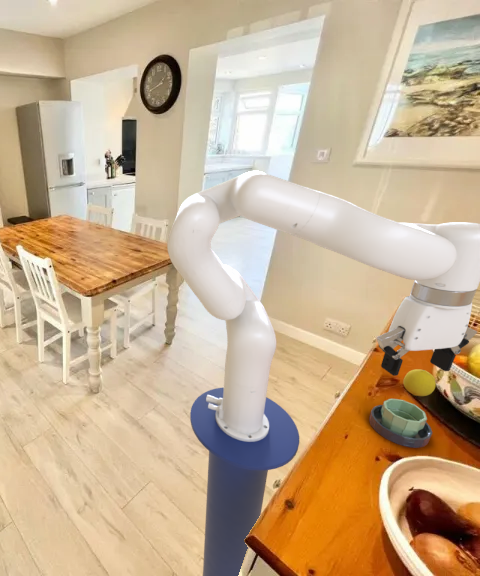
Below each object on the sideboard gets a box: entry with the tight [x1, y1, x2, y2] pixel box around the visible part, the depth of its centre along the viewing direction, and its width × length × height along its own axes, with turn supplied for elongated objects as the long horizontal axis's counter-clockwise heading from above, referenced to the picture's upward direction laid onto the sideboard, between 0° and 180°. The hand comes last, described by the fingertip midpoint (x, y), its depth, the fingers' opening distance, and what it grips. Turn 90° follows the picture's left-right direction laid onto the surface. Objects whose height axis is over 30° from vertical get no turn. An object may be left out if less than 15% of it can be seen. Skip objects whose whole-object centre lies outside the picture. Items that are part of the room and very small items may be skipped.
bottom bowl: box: [368, 404, 433, 449], centre depth 70 cm, size 10×10×2 cm
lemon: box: [402, 368, 437, 397], centre depth 77 cm, size 6×6×8 cm
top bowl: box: [381, 398, 428, 438], centre depth 70 cm, size 7×7×6 cm
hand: (413, 369), depth 62 cm, fingers open, 9 cm apart
